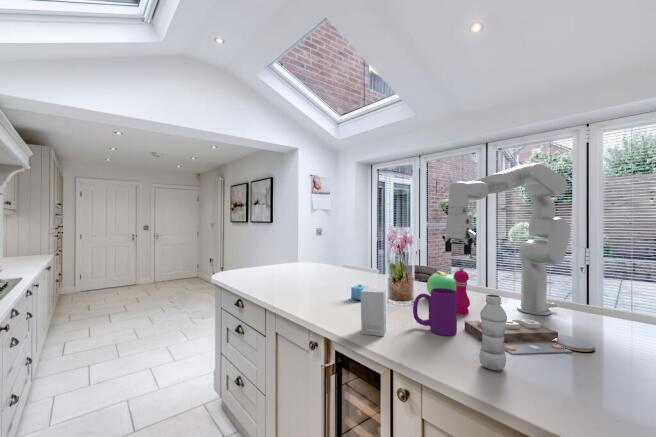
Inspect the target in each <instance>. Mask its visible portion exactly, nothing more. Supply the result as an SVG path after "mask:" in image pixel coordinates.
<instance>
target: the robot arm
mask: <svg viewBox="0 0 656 437" xmlns="http://www.w3.org/2000/svg"><path fill="white" fill-rule="evenodd" d="M522 186H524V189H525V192H526V194H527V196H528V197H529V198H530V200H531V203H532V212H531V215H530V216H531V217H530V219H529V220H530V221H529V224H528V234H529V236H530V237H531V238H535V239H542V241H541V240H526V241H524V242H522V243H521V244H520V246H519V250H518V255H519V258H520V265H521V266H520V267H521V287H520V288H521V289H520V290H521V292H520V293H521V295H520V297H521V298H520V304H518V305H517V306H516V308H517V311H519V312H523V313H525V314H529V315H536V316H548V315H549V316H550V315H551V313H552V311H551V310H550V308H557V303H555V302H549V301H547V300H548V298H547V295H548V291H547V290H548V285H547V284H548V283H547V282H548V272H547V269H546V266H545V265H550V266H551V265H552V266H556V265H560V264H561V263H562V262H563V261H564V260H565V256H566V253H567V250H568V245H569V241H570V236H571V225H570V223H569V222H568V220H566V219H564V217H556V204H555V202H554V200H553V199H552V198H551V197H553V196H555V197H556V196H561V195H563V194H564V193H565V192H566V191H567V189H568V181H567V180H566V178H565V177H564V176H563V175H561V174H560V173H558V172H557V171H555V170H553V169H552V168H550V167H548V166H547V165H545V164H543V163H539V162H533V163H530V164H529V163H527V164H522V165H518V166H516V167H512V168H508V169H506V170H503V171H500V172H499V171H498V172H497V173H492V174H489V175H487V176H484V177H480V178H477V179H473V180H470V181H466V182H465V181H453V182H450V183H449V184H448V201H447V202H448V203H447V204H448V208H447V210H448V213H447V215H446V220H445V229H444V230H442V231H440V234H441V237H442V239H443V242H444V243H445V244H444V250H445V253H448V252H449V253H450V252H451V253H452V251H453V250H452V246H453V244H452V241H453V239H454V240H462V241H463V243H464V244H463V254H464V255H471V253H472V244H473V243H474V242H475V241H476V237H477V233H476V232H474V231H472V229H473V228H472V221H471V216H470V215H469V212H470V208H469V201H480V200H483V199H485V198H487V197H488V195H491V194H499V193H503V192H507V191H509V190H512V189H515V188H518V187H522ZM543 239H544V240H547V241H543Z"/></svg>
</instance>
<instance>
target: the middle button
mask: <svg viewBox="0 0 656 437" xmlns="http://www.w3.org/2000/svg"><path fill="white" fill-rule="evenodd" d="M512 320H513V319H507V321H506V327H505V328H506V329H519V324H518V323H516V322H514V321H512Z"/></svg>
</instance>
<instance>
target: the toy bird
mask: <svg viewBox="0 0 656 437" xmlns="http://www.w3.org/2000/svg"><path fill="white" fill-rule="evenodd" d="M455 281H456V280H455V279H454V274H451V273H447V272H444V271H440V270H436V272H435V273H433V274H432V275H430V276H429V278H428V280H427V282H426V289H427V291H428V295H430V296H431V290H432V289H434V288H446V289H452V290H455V291H456V285H455Z"/></svg>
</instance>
